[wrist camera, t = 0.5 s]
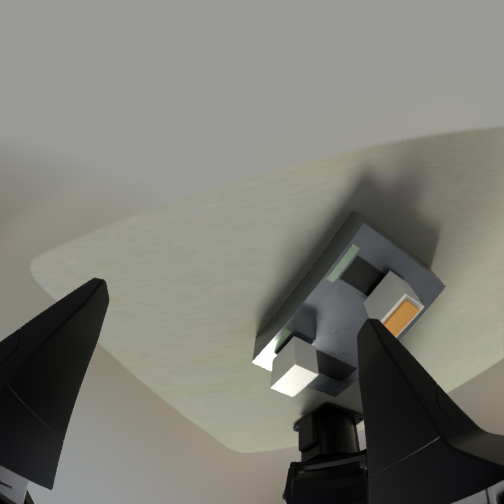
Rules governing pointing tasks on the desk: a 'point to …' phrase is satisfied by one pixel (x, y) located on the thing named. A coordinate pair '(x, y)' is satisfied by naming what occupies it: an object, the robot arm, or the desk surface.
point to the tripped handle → (393, 303)
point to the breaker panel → (342, 301)
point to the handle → (294, 367)
